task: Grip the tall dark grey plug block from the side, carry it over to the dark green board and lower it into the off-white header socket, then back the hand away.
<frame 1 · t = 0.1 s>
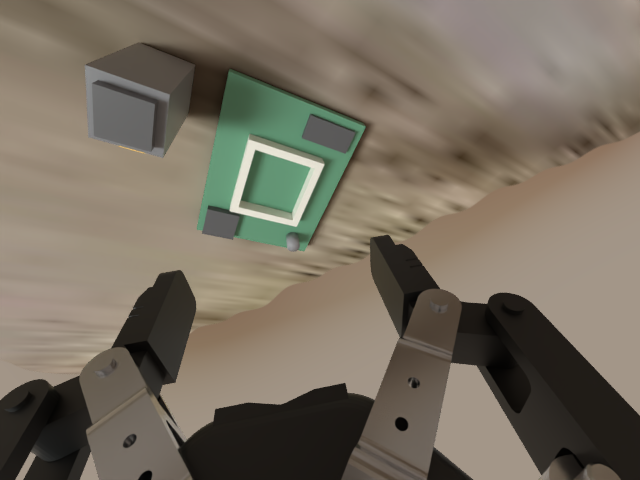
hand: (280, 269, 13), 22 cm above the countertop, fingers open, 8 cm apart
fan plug: (165, 80, 26), on the countertop
mount board: (274, 176, 34), on the countertop
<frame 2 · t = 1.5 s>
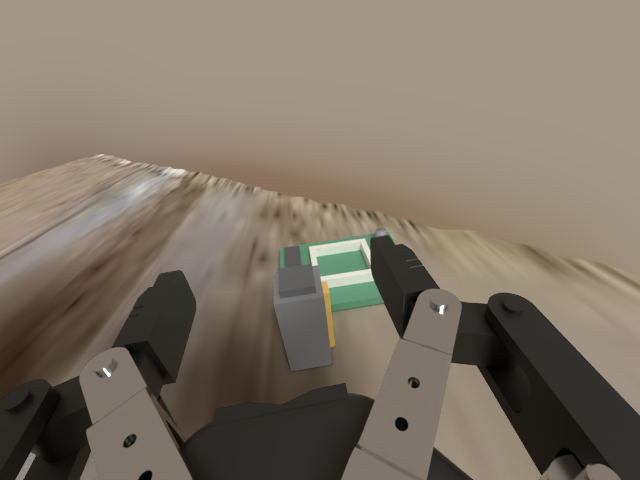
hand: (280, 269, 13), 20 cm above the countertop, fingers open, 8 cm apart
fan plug: (309, 349, 33), on the countertop
mount board: (342, 272, 43), on the countertop
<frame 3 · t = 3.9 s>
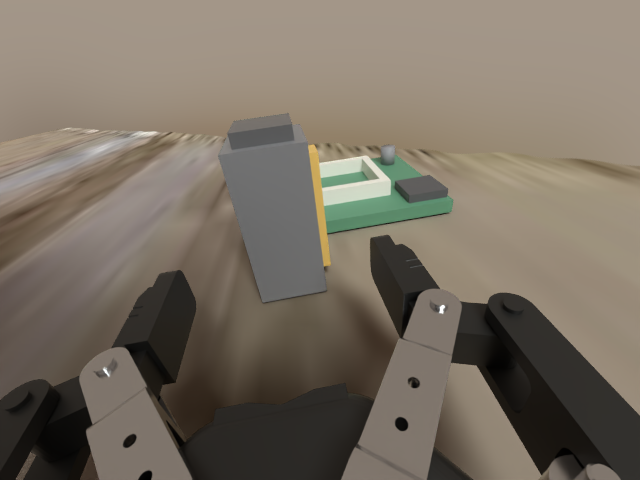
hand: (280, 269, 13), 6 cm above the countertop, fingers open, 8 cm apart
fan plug: (292, 276, 22), on the countertop
mount board: (339, 196, 32), on the countertop
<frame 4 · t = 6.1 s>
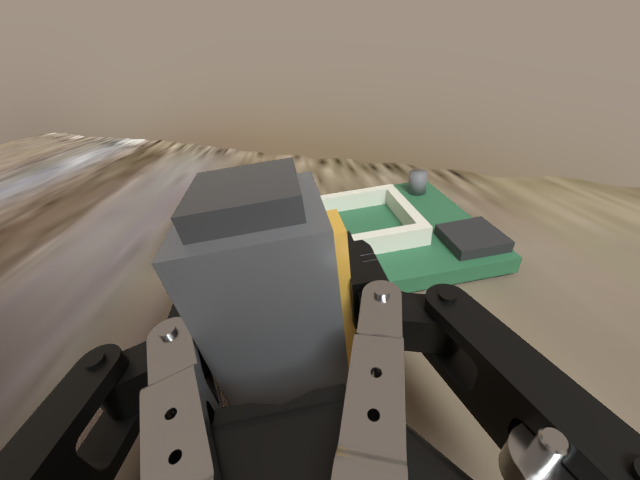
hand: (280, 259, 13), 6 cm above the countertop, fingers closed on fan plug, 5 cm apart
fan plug: (300, 388, 14), on the countertop, touching gripper
mount board: (358, 239, 25), on the countertop
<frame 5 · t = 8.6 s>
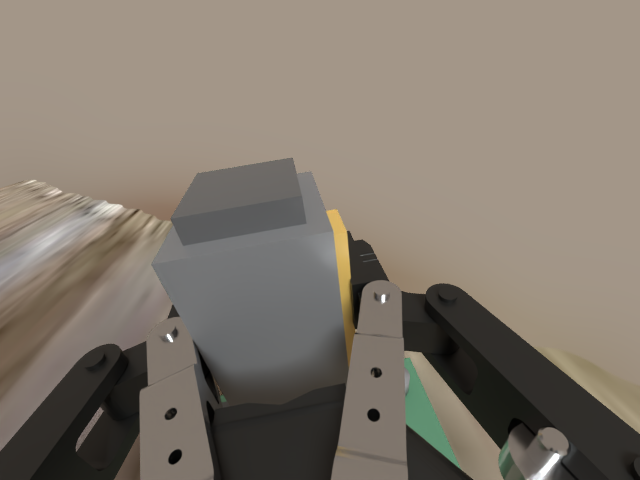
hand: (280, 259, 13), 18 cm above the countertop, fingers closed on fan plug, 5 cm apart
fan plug: (300, 389, 14), point 12 cm above the countertop, touching gripper
mount board: (325, 478, 21), on the countertop
when the fingers open (8 cm above the countertop, at t = 11.3 s): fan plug stays where it is, resting on mount board.
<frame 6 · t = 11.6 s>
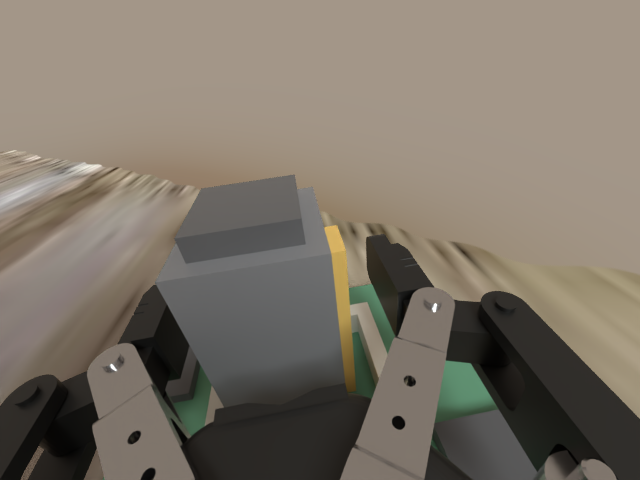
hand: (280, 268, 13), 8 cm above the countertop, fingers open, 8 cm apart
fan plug: (298, 396, 15), point 1 cm above the countertop, touching mount board
mount board: (309, 408, 15), on the countertop
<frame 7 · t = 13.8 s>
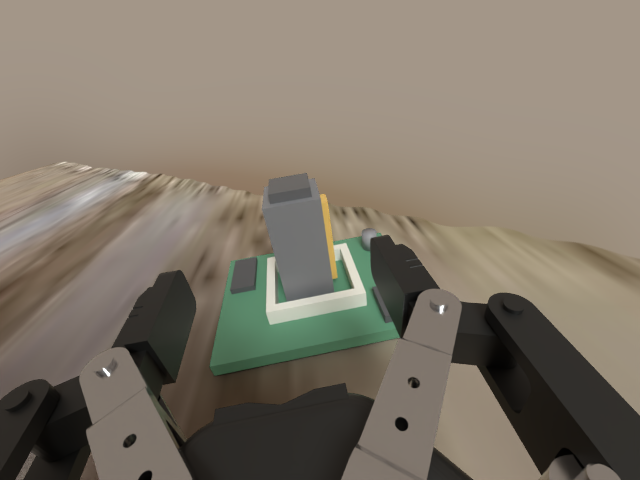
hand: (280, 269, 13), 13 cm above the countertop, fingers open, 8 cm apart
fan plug: (309, 285, 29), point 1 cm above the countertop, touching mount board
mount board: (315, 294, 30), on the countertop
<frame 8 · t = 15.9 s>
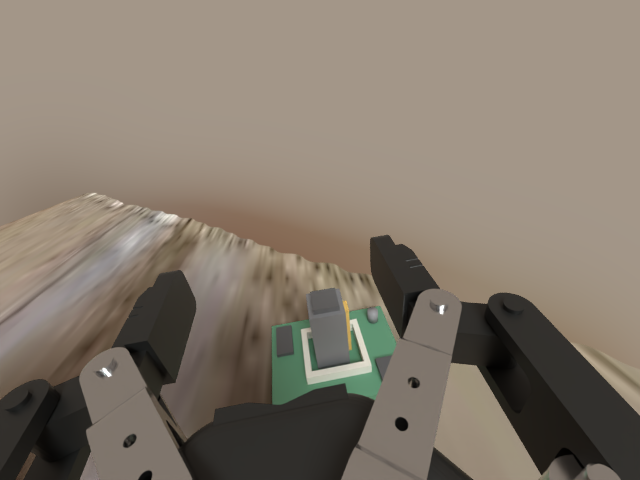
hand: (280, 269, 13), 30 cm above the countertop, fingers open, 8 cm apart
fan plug: (331, 352, 42), point 1 cm above the countertop, touching mount board
mount board: (335, 357, 43), on the countertop
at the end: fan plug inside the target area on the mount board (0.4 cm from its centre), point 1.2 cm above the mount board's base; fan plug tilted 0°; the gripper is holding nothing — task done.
